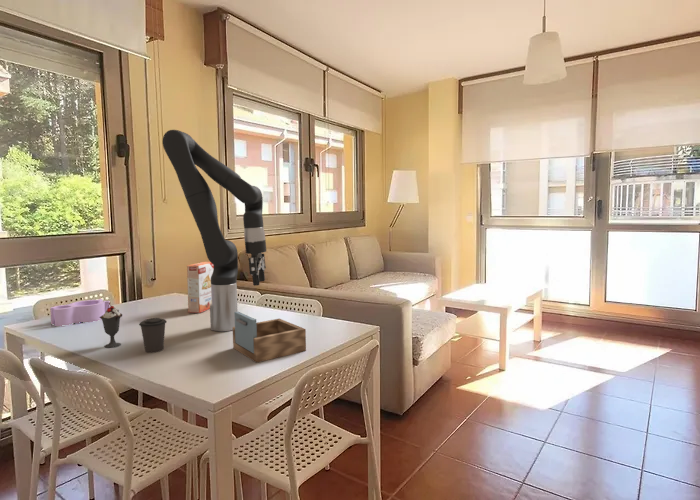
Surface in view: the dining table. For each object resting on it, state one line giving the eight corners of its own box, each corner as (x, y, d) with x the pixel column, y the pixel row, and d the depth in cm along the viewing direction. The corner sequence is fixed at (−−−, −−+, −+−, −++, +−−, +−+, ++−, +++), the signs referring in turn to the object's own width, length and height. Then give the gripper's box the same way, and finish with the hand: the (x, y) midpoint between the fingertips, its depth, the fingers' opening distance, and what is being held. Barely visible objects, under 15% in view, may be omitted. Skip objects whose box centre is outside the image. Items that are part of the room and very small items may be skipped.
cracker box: (200, 313, 188) (198, 265, 186) (187, 313, 190) (185, 265, 187) (216, 306, 202) (215, 261, 200) (204, 305, 203) (203, 261, 201)
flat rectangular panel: (238, 341, 141) (237, 311, 140) (257, 352, 131) (256, 319, 130) (232, 343, 140) (231, 312, 139) (250, 354, 129) (249, 320, 128)
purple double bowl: (59, 328, 167) (58, 311, 166) (47, 323, 174) (45, 306, 174) (113, 318, 183) (112, 301, 182) (100, 313, 190) (99, 298, 190)
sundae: (108, 350, 141) (105, 304, 139) (97, 346, 144) (94, 301, 143) (128, 344, 146) (125, 300, 145) (116, 341, 150) (114, 298, 149)
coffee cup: (140, 355, 136) (138, 323, 135) (140, 347, 143) (139, 317, 142) (168, 351, 139) (166, 321, 138) (167, 344, 146) (166, 315, 145)
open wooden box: (279, 338, 152) (279, 318, 152) (305, 350, 139) (305, 329, 138) (233, 348, 142) (232, 327, 141) (256, 362, 129) (255, 339, 128)
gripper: (250, 239, 169) (254, 280, 170) (239, 242, 155) (244, 287, 156) (269, 237, 168) (273, 279, 170) (260, 240, 154) (264, 286, 156)
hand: (259, 283), depth 163 cm, fingers open, 8 cm apart
